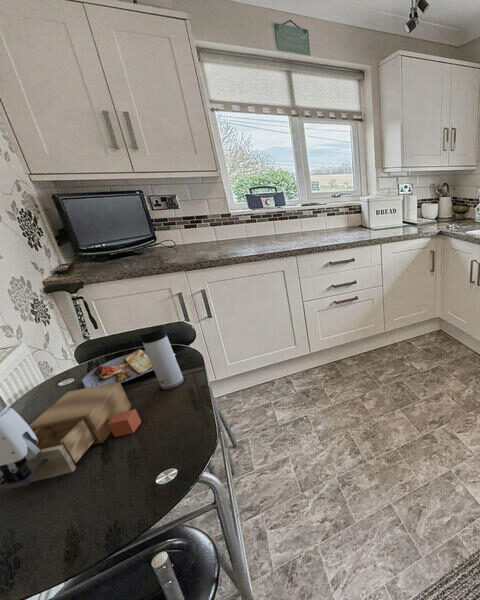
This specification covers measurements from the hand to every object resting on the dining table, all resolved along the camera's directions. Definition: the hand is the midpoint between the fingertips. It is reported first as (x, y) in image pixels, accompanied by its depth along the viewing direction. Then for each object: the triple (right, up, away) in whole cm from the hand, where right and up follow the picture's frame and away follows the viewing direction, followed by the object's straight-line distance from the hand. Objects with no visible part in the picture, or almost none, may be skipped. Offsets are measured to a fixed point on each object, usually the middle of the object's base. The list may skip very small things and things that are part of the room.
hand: (23, 483), depth 68 cm
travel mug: (+5, +11, +38) cm, 40 cm away
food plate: (-18, +12, +48) cm, 53 cm away
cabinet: (-5, +3, +20) cm, 21 cm away
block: (+6, +4, +19) cm, 20 cm away
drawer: (-2, -1, +8) cm, 8 cm away
